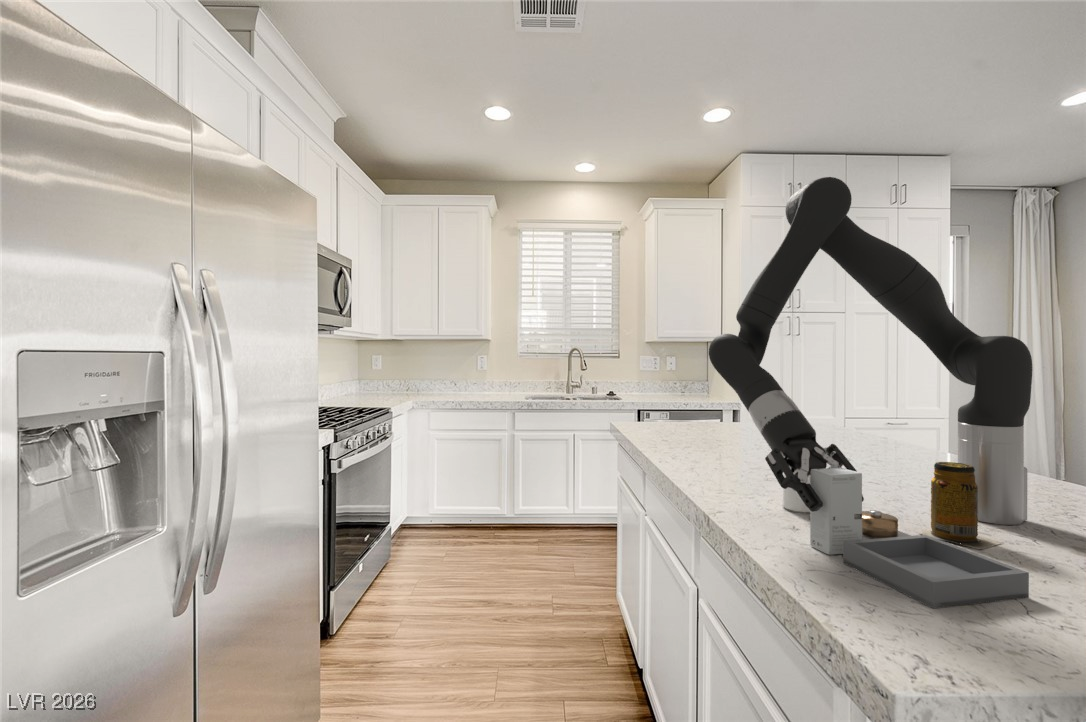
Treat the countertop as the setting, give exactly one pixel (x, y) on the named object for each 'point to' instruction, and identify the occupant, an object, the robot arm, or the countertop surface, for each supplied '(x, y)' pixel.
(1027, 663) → the countertop surface
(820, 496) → the skincare box
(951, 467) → the condiment
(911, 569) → the tray
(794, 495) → the can
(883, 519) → the service bell
